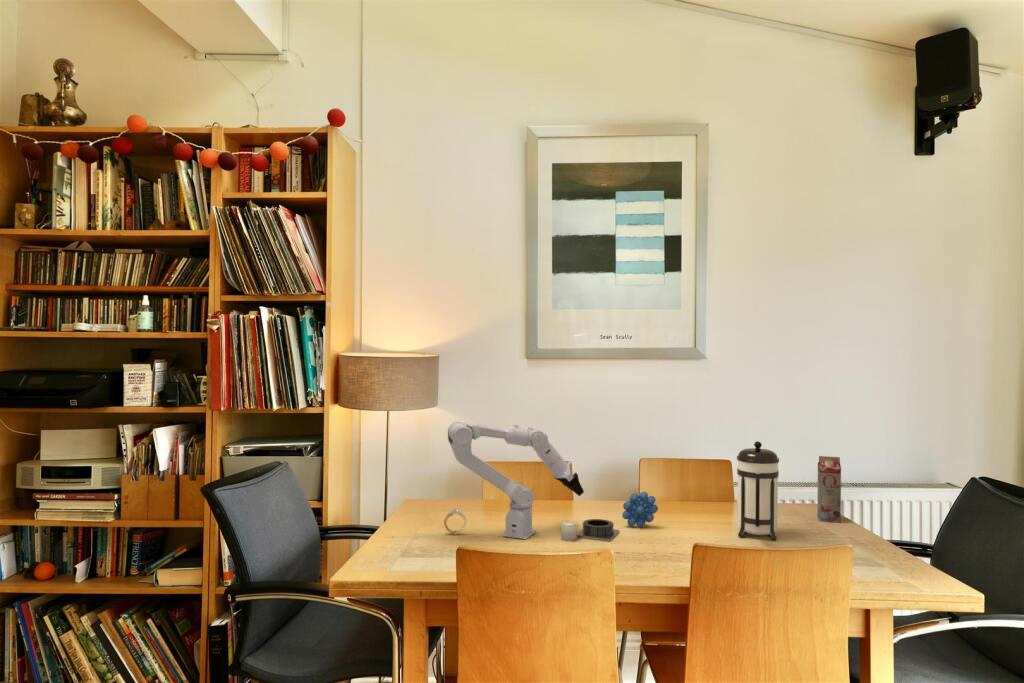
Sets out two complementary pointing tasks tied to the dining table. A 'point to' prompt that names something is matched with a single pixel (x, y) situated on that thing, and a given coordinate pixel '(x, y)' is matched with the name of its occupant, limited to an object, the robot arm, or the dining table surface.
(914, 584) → the dining table surface
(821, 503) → the juice carton
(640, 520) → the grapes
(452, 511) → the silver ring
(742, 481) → the coffee press
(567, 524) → the cap
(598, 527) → the flanged pipe fitting
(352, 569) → the dining table surface
